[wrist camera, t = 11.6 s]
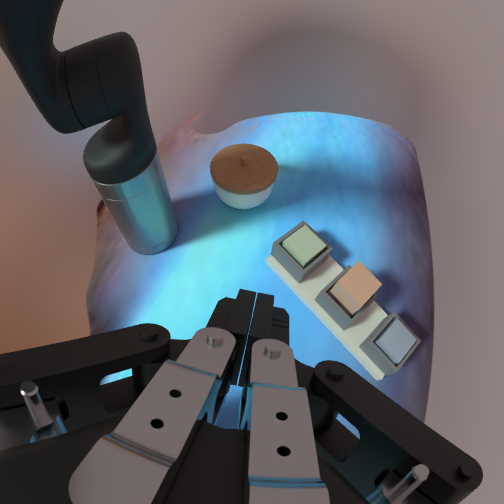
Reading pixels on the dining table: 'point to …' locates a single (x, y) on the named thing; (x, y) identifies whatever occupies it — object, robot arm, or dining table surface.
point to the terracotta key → (355, 287)
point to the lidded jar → (243, 175)
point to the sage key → (304, 246)
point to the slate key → (395, 341)
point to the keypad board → (338, 306)
